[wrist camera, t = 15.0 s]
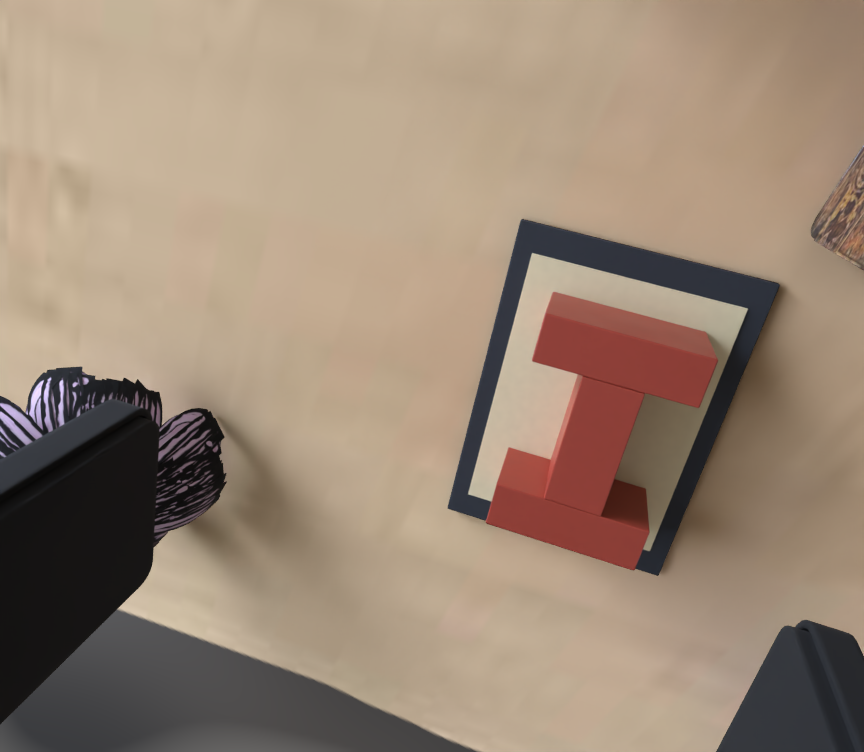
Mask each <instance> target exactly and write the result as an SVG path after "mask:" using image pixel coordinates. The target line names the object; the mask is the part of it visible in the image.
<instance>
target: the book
mask: <svg viewBox="0 0 864 752" xmlns="http://www.w3.org/2000/svg"><path fill="white" fill-rule="evenodd" d="M811 235H812V237H813V238H814V241H816V242H817V243H819V244H821V245H822V246H824V247H825V248H827V249H829V250H830V251H832V252H834V253H835V254H837V255H839V256H840V257H842V258H844V259H846V260H847V261H849V262H851V263H852V264H854V265H856V266H857V267H859V268H861V269H862V270H864V145H863V147H862V148H861V150H860V151H859V153H858V154H857V156H856V157H855V159H854V160H853V162H852V163H851V165H850V167H849V168H848V170H847V171H846V173H845V174H844V176H843V177H842V179H841V180H840V182H839V183H838V185H837V187H836V188H835V190H834V191H833V193H832V194H831V196H830V197H829V199H828V200H827V202H826V203H825V205H824V206H823V208H822V210H821V211H820V213H819V214H818V216H817V217H816V219H815V221H814V223H813V225H812V228H811Z"/></svg>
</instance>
